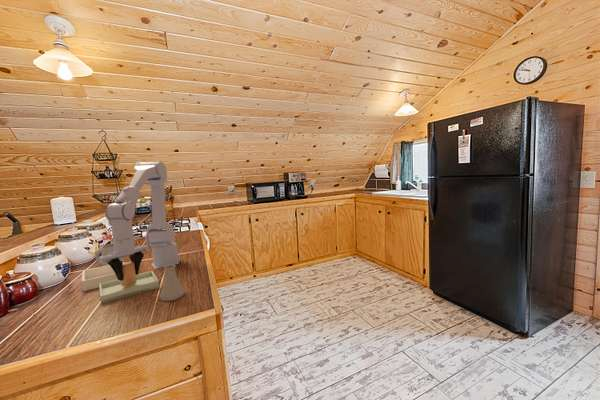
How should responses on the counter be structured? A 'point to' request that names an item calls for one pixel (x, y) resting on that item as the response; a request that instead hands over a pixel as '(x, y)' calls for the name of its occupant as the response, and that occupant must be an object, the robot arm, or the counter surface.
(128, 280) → the peg
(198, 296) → the counter surface
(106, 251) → the cup
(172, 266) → the flask
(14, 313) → the counter surface
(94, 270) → the box
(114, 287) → the tray
